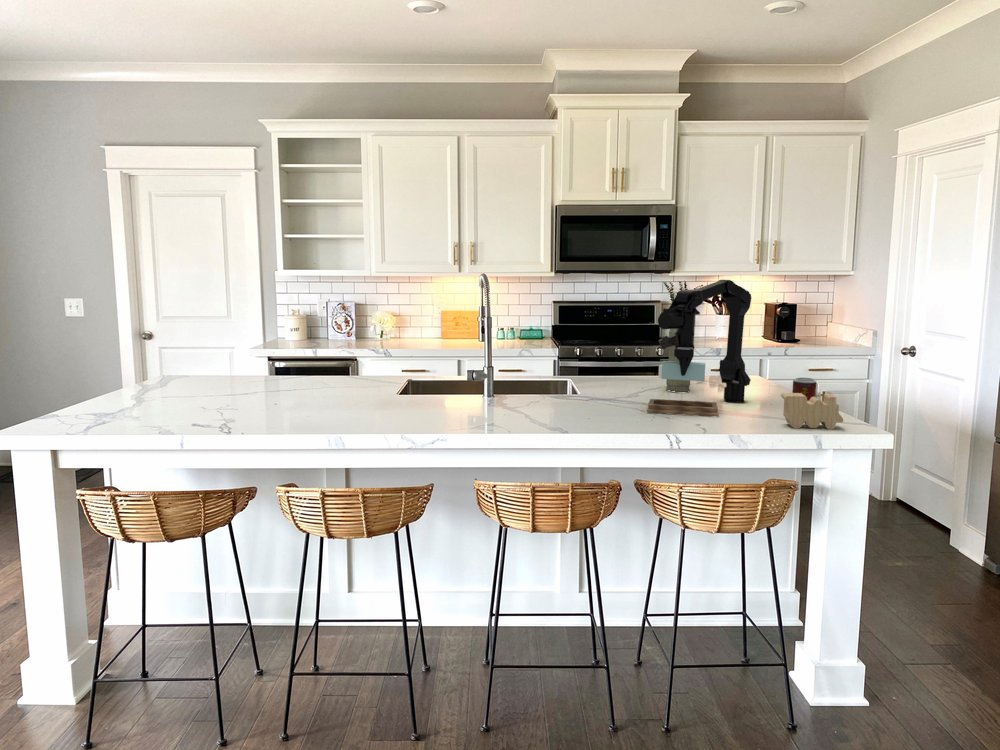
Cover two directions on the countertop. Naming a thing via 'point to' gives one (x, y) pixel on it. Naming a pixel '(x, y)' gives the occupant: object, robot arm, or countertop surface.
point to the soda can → (805, 387)
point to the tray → (683, 407)
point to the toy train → (811, 410)
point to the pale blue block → (673, 371)
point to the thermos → (672, 384)
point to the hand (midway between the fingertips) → (683, 374)
